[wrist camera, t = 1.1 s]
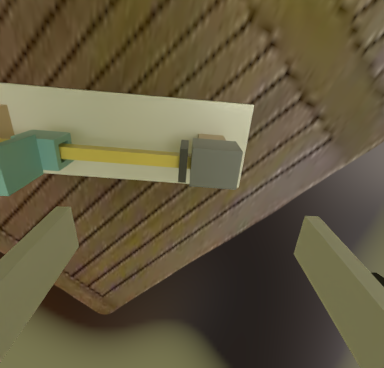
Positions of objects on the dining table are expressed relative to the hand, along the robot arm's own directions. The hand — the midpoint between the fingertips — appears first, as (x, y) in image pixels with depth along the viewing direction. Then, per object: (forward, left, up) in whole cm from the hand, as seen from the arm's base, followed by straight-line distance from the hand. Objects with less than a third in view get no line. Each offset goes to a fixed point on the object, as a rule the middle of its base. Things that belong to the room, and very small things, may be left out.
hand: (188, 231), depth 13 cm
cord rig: (+2, -12, -27) cm, 29 cm away
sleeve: (+2, -19, -20) cm, 27 cm away
